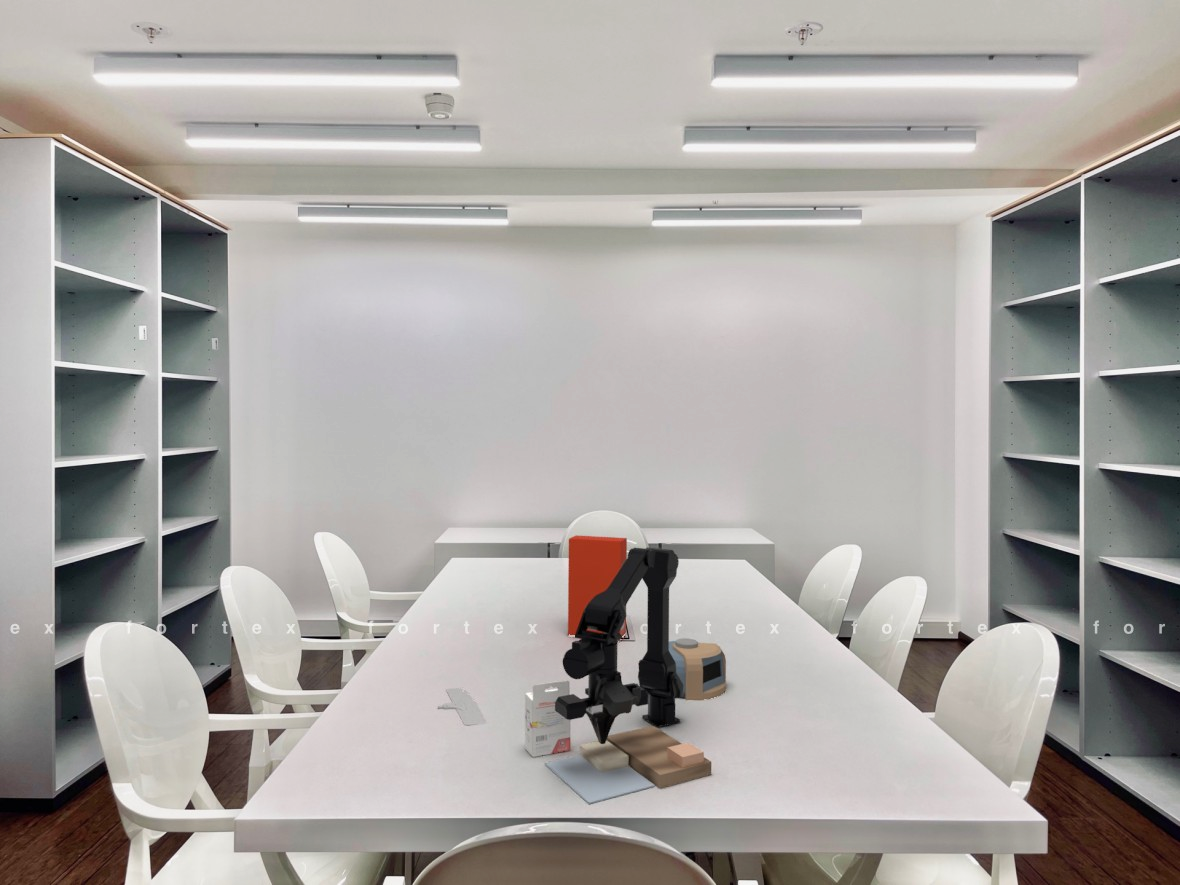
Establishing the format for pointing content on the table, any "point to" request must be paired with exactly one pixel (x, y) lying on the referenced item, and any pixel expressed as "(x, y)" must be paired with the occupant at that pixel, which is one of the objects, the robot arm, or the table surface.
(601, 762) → the birch tile
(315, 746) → the table surface
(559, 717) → the ink cartridge box
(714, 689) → the alarm clock
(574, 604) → the file binder
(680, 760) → the terracotta tile
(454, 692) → the grey flat piece
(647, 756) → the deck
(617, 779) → the mat
